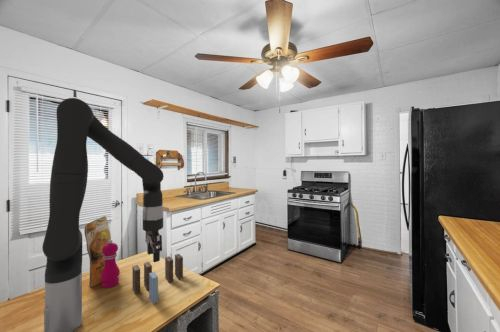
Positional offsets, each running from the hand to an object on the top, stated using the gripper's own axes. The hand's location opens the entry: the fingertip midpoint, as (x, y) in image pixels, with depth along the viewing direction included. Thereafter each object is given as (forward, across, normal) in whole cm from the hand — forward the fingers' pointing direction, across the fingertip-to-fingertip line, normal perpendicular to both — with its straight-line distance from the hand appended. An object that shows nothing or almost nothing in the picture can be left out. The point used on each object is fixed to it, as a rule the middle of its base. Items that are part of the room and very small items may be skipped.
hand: (153, 257), depth 86 cm
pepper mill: (+17, -24, -12) cm, 32 cm away
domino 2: (+17, -11, 0) cm, 20 cm away
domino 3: (+17, 0, 0) cm, 17 cm away
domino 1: (+17, -11, -4) cm, 21 cm away
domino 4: (+17, -11, +10) cm, 22 cm away
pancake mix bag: (+17, -33, -15) cm, 40 cm away
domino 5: (+17, -11, +14) cm, 25 cm away
